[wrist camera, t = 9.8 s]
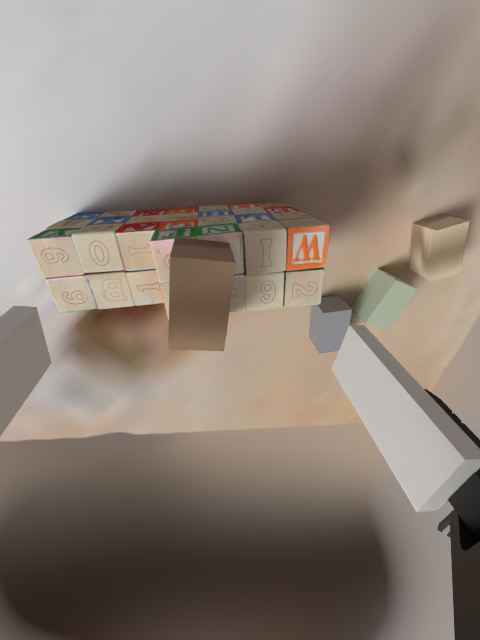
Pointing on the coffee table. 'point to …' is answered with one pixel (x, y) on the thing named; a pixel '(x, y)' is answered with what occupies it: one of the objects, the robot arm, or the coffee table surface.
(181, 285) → the walnut brick
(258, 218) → the stack of blocks
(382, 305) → the sage brick
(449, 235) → the maple brick
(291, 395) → the coffee table surface
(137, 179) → the coffee table surface
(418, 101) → the coffee table surface
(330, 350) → the grey brick
